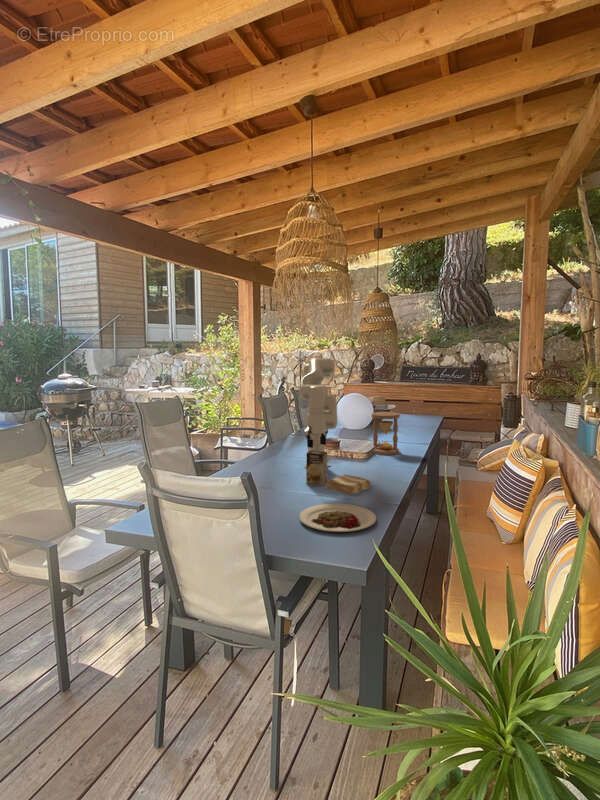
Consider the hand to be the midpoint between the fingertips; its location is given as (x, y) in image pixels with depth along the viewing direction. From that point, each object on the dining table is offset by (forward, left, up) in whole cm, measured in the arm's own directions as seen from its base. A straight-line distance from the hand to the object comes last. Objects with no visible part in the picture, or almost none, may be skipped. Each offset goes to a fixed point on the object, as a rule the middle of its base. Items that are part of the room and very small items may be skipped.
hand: (316, 445), depth 233 cm
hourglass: (-83, -13, -20) cm, 87 cm away
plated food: (+32, +38, -20) cm, 53 cm away
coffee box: (0, 0, -20) cm, 20 cm away
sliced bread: (-5, +16, -19) cm, 25 cm away
